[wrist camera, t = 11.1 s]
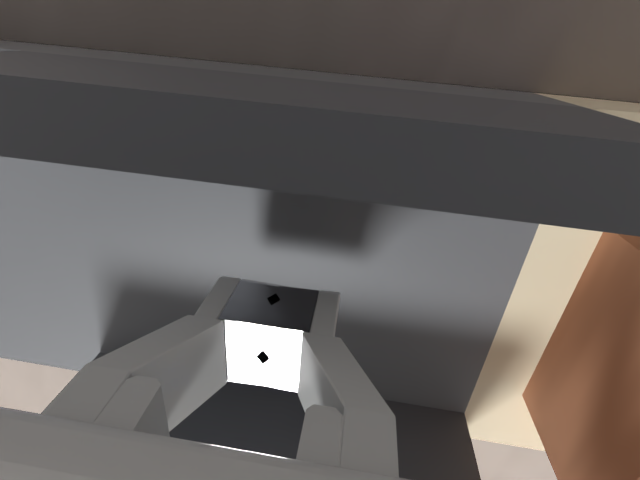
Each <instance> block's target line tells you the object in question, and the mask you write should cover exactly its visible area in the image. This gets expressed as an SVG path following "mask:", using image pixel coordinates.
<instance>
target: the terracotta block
mask: <svg viewBox="0 0 640 480" xmlns="http://www.w3.org/2000/svg"><path fill="white" fill-rule="evenodd" d="M522 397H523V399H524V401H525V404H526V406H527V408H528V411H529V413H530V415H531V418H532V420H533V423H534V425H535V427H536V430H537V432H538V434H539V437H540V439H541V441H542V444H543V446H544V449H545V451H546V453H547V456H548V458H549V460H550V463H551V465H552V468H553V470H554V472H555V475H556V477H557V479H558V480H640V237H639V236H631V235H623V234H615V233H607V232H603V233H602V235H601V237H600V239H599V241H598V243H597V245H596V247H595V249H594V251H593V253H592V255H591V257H590V259H589V261H588V263H587V265H586V267H585V269H584V271H583V273H582V275H581V277H580V279H579V281H578V283H577V285H576V287H575V290H574V292H573V294H572V296H571V298H570V300H569V302H568V304H567V306H566V308H565V310H564V312H563V314H562V316H561V318H560V320H559V322H558V324H557V326H556V328H555V330H554V332H553V334H552V336H551V338H550V340H549V342H548V344H547V346H546V348H545V350H544V352H543V354H542V356H541V358H540V360H539V362H538V364H537V366H536V368H535V370H534V372H533V374H532V376H531V378H530V380H529V382H528V384H527V386H526V388H525V390H524V392H523V394H522Z"/></svg>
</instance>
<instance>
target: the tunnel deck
mask: <svg viewBox="0 0 640 480" xmlns="http://www.w3.org/2000/svg"><path fill="white" fill-rule="evenodd" d="M603 232H607V233H615V234H623V235H631V236H639V237H640V103H632V102H622V101H611V100H601V99H591V98H581V97H571V96H561V95H551V94H541V93H531V92H520V91H510V90H500V89H490V88H480V87H470V86H460V85H450V84H440V83H429V82H419V81H409V80H399V79H389V78H379V77H369V76H359V75H349V74H338V73H328V72H318V71H308V70H298V69H288V68H278V67H268V66H257V65H247V64H237V63H227V62H217V61H207V60H197V59H187V58H177V57H166V56H156V55H146V54H136V53H126V52H116V51H106V50H96V49H86V48H75V47H65V46H55V45H45V44H35V43H25V42H15V41H5V40H0V358H6V359H11V360H17V361H23V362H29V363H35V364H41V365H46V366H52V367H58V368H64V369H70V370H76V371H80V370H81V369H82V368H83V367H84V365H85V364H87V363H89V362H91V361H94V360H96V359H98V358H100V357H102V356H104V355H106V354H108V353H110V352H112V351H114V350H116V349H118V348H120V347H123V346H125V345H127V344H129V343H131V342H133V341H135V340H137V339H139V338H141V337H143V336H145V335H147V334H149V333H151V332H154V331H156V330H158V329H160V328H162V327H164V326H166V325H168V324H170V323H172V322H174V321H176V320H178V319H180V318H182V317H185V316H187V315H192V316H194V315H195V313H196V312H197V310H198V309H199V307H200V306H201V304H202V303H203V301H204V300H205V298H206V297H207V295H208V294H209V292H210V291H211V289H212V288H213V286H214V285H215V283H216V282H217V280H218V279H219V278H220V277H222V276H227V277H234V278H240V279H247V280H253V281H259V282H265V283H272V284H278V285H281V286H289V287H297V288H304V289H312V290H319V291H320V290H324V291H333V292H339V293H340V300H339V308H338V315H337V323H336V330H335V337H338V338H341V339H342V341H343V342H344V344H345V345H346V346H347V348H348V349H349V351H350V352H351V354H352V355H353V356H354V358H355V359H356V361H357V362H358V364H359V365H360V366H361V368H362V369H363V371H364V372H365V374H366V375H367V376H368V378H369V379H370V381H371V382H372V384H373V385H374V386H375V388H376V389H377V391H378V392H379V394H380V395H381V396H382V398H383V399H384V401H385V402H386V404H387V405H388V406H389V408H390V409H391V411H392V412H393V414H394V415H395V418H396V435H397V452H398V469H399V478H405V479H410V480H481V479H480V475H479V471H478V466H477V462H476V458H475V454H474V450H473V446H472V442H471V439H477V440H483V441H489V442H494V443H500V444H506V445H512V446H518V447H524V448H529V449H535V450H541V451H545V449H544V446H543V444H542V441H541V439H540V437H539V434H538V432H537V430H536V427H535V425H534V423H533V420H532V418H531V415H530V413H529V411H528V408H527V406H526V404H525V401H524V399H523V397H522V394H523V392H524V390H525V388H526V386H527V384H528V382H529V380H530V378H531V376H532V374H533V372H534V370H535V368H536V366H537V364H538V362H539V360H540V358H541V356H542V354H543V352H544V350H545V348H546V346H547V344H548V342H549V340H550V338H551V336H552V334H553V332H554V330H555V328H556V326H557V324H558V322H559V320H560V318H561V316H562V314H563V312H564V310H565V308H566V306H567V304H568V302H569V300H570V298H571V296H572V294H573V292H574V290H575V287H576V285H577V283H578V281H579V279H580V277H581V275H582V273H583V271H584V269H585V267H586V265H587V263H588V261H589V259H590V257H591V255H592V253H593V251H594V249H595V247H596V245H597V243H598V241H599V239H600V237H601V235H602V233H603ZM304 417H305V412H304V409H303V406H302V404H301V401H300V399H299V396H298V392H293V391H287V390H282V389H277V388H272V387H267V386H261V385H253V384H246V383H238V382H231V381H227V383H226V384H225V385H224V386H223V387H222V388H221V389H219V390H218V391H217V392H216V393H215V394H213V395H212V396H211V397H210V398H209V399H208V400H206V401H205V402H204V403H203V404H202V405H200V406H199V407H198V408H197V409H196V410H195V411H193V412H192V413H191V414H190V415H189V416H187V417H186V418H185V419H184V420H183V421H181V422H180V423H179V424H178V425H177V426H176V427H174V428H173V429H172V430H171V431H170V432H169V434H170V437H173V438H179V439H184V440H190V441H195V442H201V443H207V444H212V445H218V446H224V447H229V448H235V449H241V450H246V451H252V452H257V453H263V454H269V455H274V456H280V457H286V458H291V459H296V456H297V451H298V446H299V442H300V437H301V432H302V427H303V422H304Z"/></svg>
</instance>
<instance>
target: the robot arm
mask: <svg viewBox="0 0 640 480" xmlns="http://www.w3.org/2000/svg"><path fill="white" fill-rule="evenodd" d="M339 300H340V293H339V292H333V291H324V290H320V291H319V290H312V289H304V288H297V287H289V286H281V285H278V284H272V283H265V282H259V281H253V280H247V279H240V278H234V277H227V276H222V277H220V278H219V279H218V280H217V282H216V283H215V285H214V286H213V288H212V289H211V291H210V292H209V294H208V295H207V297H206V298H205V300H204V301H203V303H202V304H201V306H200V307H199V309H198V310H197V312H196V313H195V315H194V316H192V315H187V316H185V317H182V318H180V319H178V320H176V321H174V322H172V323H170V324H168V325H166V326H164V327H162V328H160V329H158V330H156V331H154V332H151V333H149V334H147V335H145V336H143V337H141V338H139V339H137V340H135V341H133V342H131V343H129V344H127V345H125V346H123V347H120V348H118V349H116V350H114V351H112V352H110V353H108V354H106V355H104V356H102V357H100V358H98V359H96V360H94V361H91V362H89V363H87V364H85V365H84V367H83V368H82V369H81V370H80V371H79V372H78V373H77V374H76V375H75V377H74V378H73V379H72V380H71V381H70V382H69V383H68V384H67V385H66V386H65V388H64V389H63V390H62V391H61V392H60V393H59V394H58V395H57V396H56V397H55V399H54V400H53V401H52V402H51V403H50V404H49V405H48V406H47V407H46V408H45V410H44V411H43V412H42V413H41V414H38V413H32V412H26V411H21V410H15V409H9V408H4V407H0V480H410V479H405V478H399V469H398V452H397V435H396V418H395V415H394V414H393V412H392V411H391V409H390V408H389V406H388V405H387V404H386V402H385V401H384V399H383V398H382V396H381V395H380V394H379V392H378V391H377V389H376V388H375V386H374V385H373V384H372V382H371V381H370V379H369V378H368V376H367V375H366V374H365V372H364V371H363V369H362V368H361V366H360V365H359V364H358V362H357V361H356V359H355V358H354V356H353V355H352V354H351V352H350V351H349V349H348V348H347V346H346V345H345V344H344V342H343V341H342V339H341V338H338V337H335V330H336V323H337V315H338V308H339ZM227 381H231V382H238V383H246V384H253V385H261V386H267V387H272V388H277V389H282V390H287V391H293V392H298V396H299V399H300V401H301V404H302V406H303V409H304V412H305V417H304V422H303V427H302V432H301V437H300V442H299V446H298V451H297V456H296V459H291V458H286V457H280V456H274V455H269V454H263V453H257V452H252V451H246V450H241V449H235V448H229V447H224V446H218V445H212V444H207V443H201V442H195V441H190V440H184V439H179V438H173V437H170V434H169V432H170V431H171V430H172V429H173V428H174V427H176V426H177V425H178V424H179V423H180V422H181V421H183V420H184V419H185V418H186V417H187V416H189V415H190V414H191V413H192V412H193V411H195V410H196V409H197V408H198V407H199V406H200V405H202V404H203V403H204V402H205V401H206V400H208V399H209V398H210V397H211V396H212V395H213V394H215V393H216V392H217V391H218V390H219V389H221V388H222V387H223V386H224V385H225V384H226V383H227Z"/></svg>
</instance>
